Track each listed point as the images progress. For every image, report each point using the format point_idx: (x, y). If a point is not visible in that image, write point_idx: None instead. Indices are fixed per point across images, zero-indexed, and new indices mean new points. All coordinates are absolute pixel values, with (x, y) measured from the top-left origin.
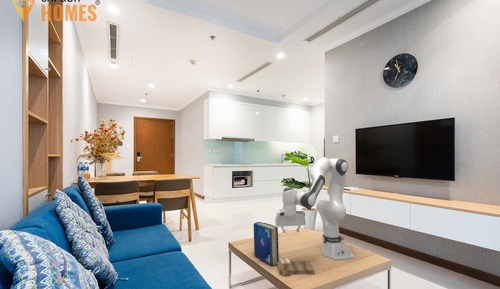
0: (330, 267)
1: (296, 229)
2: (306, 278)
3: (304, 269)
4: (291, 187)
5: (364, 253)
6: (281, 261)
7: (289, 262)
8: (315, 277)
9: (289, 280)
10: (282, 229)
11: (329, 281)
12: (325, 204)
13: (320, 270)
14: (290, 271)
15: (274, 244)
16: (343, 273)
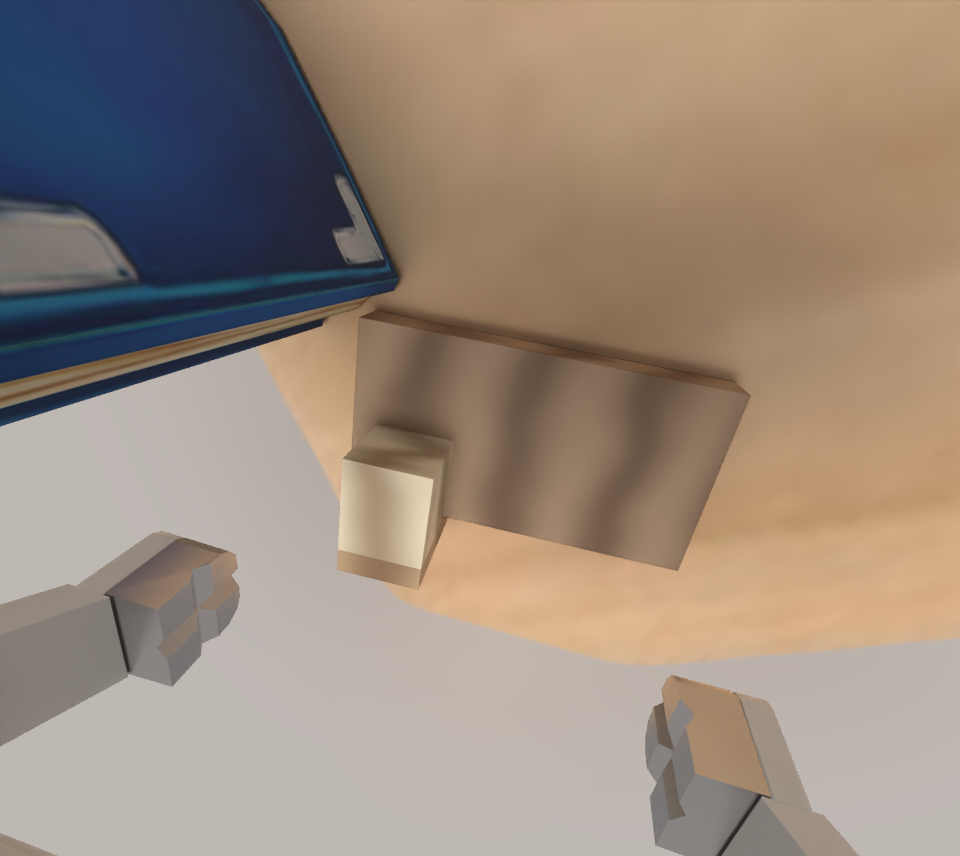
0: (935, 486)
1: (686, 742)
2: (561, 579)
3: (585, 537)
4: None
5: None
6: (339, 524)
7: (417, 566)
8: (643, 588)
9: None
10: (37, 695)
11: (717, 658)
12: None
13: (773, 508)
14: (437, 542)
15: (194, 353)
16: (954, 609)
